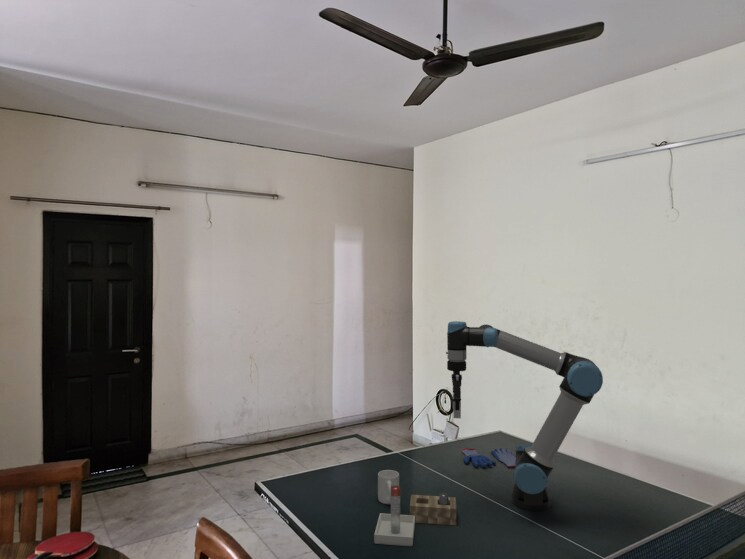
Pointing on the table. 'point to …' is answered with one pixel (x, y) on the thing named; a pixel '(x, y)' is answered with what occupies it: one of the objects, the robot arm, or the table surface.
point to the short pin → (443, 498)
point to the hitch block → (433, 510)
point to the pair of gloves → (484, 461)
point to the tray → (402, 538)
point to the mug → (386, 485)
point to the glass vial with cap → (395, 509)
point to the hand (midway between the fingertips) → (456, 413)
